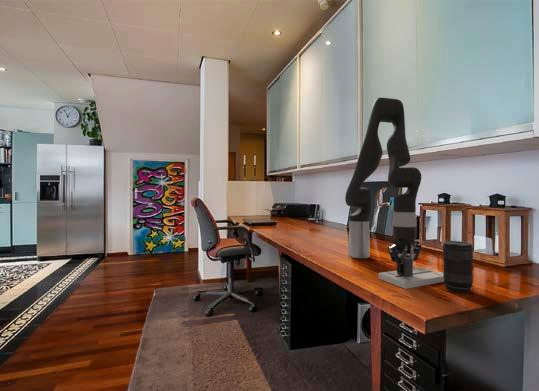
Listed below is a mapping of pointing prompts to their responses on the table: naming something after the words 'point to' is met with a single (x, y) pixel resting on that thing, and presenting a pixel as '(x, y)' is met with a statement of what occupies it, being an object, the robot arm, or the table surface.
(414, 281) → the fader console
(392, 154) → the robot arm
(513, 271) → the table surface
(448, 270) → the camera lens
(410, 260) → the fader tab
